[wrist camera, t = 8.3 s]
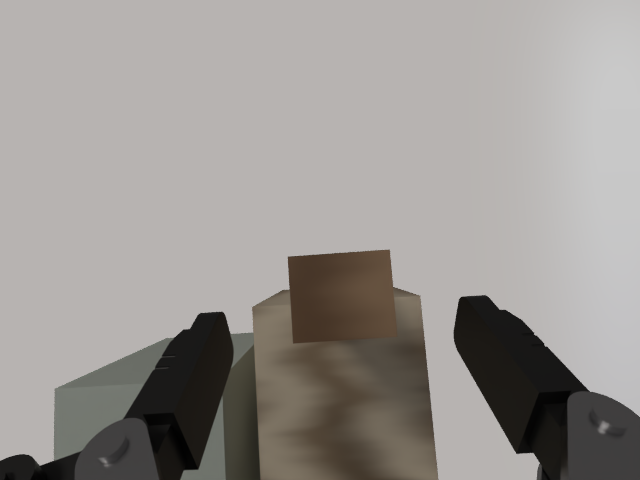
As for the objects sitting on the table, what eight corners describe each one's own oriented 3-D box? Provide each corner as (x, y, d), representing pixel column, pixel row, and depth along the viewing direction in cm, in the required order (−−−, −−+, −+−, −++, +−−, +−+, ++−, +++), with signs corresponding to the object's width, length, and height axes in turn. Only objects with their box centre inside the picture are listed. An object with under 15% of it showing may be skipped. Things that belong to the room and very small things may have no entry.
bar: (292, 343, 8) (287, 256, 9) (317, 287, 30) (316, 262, 30) (397, 336, 8) (389, 249, 9) (346, 285, 30) (344, 261, 30)
